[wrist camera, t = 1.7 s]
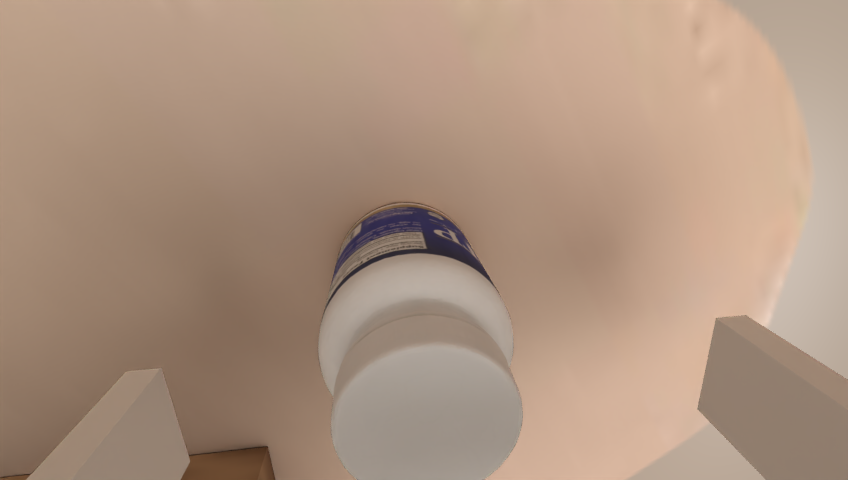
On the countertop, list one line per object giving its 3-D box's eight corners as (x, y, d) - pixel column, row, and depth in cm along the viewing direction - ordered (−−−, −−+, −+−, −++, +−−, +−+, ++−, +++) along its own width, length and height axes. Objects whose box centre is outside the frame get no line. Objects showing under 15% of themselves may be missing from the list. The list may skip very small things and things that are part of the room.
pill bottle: (490, 285, 18) (591, 459, 9) (380, 342, 18) (382, 559, 10) (432, 173, 16) (491, 267, 8) (311, 240, 16) (240, 398, 8)
